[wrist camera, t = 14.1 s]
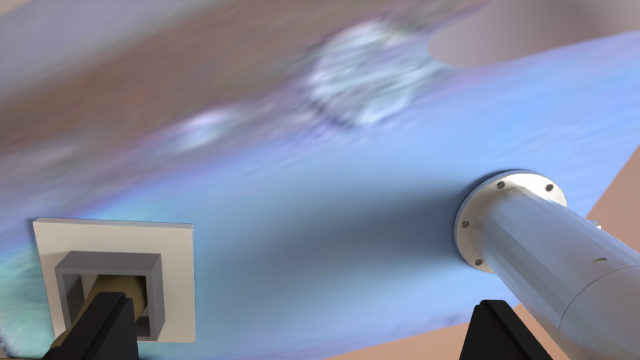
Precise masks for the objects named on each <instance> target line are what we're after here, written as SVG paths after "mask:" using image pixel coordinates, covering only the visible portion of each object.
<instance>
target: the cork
mask: <svg viewBox="0 0 640 360" xmlns="http://www.w3.org/2000/svg"><path fill="white" fill-rule="evenodd" d="M101 291H108V292H125V294H126V298H132V300H133V305H134V315H135V322H136V320H137V319H138V318H139V316H140V315H141V314H142V312H143V311H144V310H145V308H146V307H147V305H148V298H147V286H146V276H143V275H106V274H98V276H97V278H96V280H95V282H94V284H93V286H92V288H91V290H90V292H89V294H88V296H87V298H86V300H85V302H84V304H83V306H82V308H81V310H80V312H79V314H78V316H77V318H76V320H75V322H74V324H73V326H72V327H71V328H69V329H67V330H65V331H64V332H63V333H61V334H60V335H59V336H58V337H57V338H56V339H55V341H54V342H53V343H52V344H51V347H50V349H51V348H53V347H54V346H60V345H61V344H62V342H63V341H64V340H65V338H66V337H67V335H68V334H69V333H70V331H71V330H72V328H73V327H74V325H75V324H76V323H77V321H78V320H79V318H80V317H81V316H82V314H83V313H84V311H85V310H86V309H87V307H88V306H89V304H90V303H91V302H92V300H93V299H94V297H95V296H96V295H97V294H98V293H99V292H101ZM50 349H49V350H50Z"/></svg>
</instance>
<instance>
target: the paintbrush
mask: <svg viewBox="0 0 640 360" xmlns="http://www.w3.org/2000/svg"><path fill="white" fill-rule="evenodd" d="M0 360H34V359H12V358H0Z"/></svg>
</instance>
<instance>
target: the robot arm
mask: <svg viewBox="0 0 640 360" xmlns="http://www.w3.org/2000/svg"><path fill="white" fill-rule="evenodd" d="M454 239H455V243H456V246H457V248H458V250H459V252H460V253H461V255H462V256H463V257H464V259H465V260H466V261H467V262H468V263H469V264H470V265H472V266H473V267H474V268H476V269H478V270H481V271H483V272H487V273H492V274H497V276H498V277H499V278H500V279H501V280H502V281H503V283H504V284H505V285H506V286H507V287H508V288H509V289H510V291H511V292H512V293H513V294H514V295H515V296H516V298H517V299H518V300H519V301H520V302H521V303H522V305H523V306H524V307H525V308H526V309H527V310H528V311H529V313H530V314H531V315H532V316H533V317H534V318H535V319H536V321H537V322H538V323H539V324H540V325H541V326H542V328H543V329H544V330H545V331H546V332H547V333H548V334H549V336H550V337H551V338H552V339H553V340H554V341H555V343H556V344H557V345H558V346H559V347H560V348H561V350H562V351H563V352H564V353H565V354H566V355H567V357H568V358H569V359H570V360H640V253H638V252H637V251H635V250H633V249H632V248H630V247H629V246H627V245H626V244H624V243H622V242H621V241H619V240H618V239H616V238H615V237H613V236H611V235H610V234H608V233H606V232H605V231H603V230H602V229H600V224H599V222H598V221H595V220H586V219H584V218H583V217H581V216H580V215H578V214H577V213H575V212H573V211H572V210H570V209H569V208H568V205H567V201H566V197H565V195H564V193H563V191H562V190H561V188H560V187H559V186H558V185H557V184H556V183H555V182H554V181H552V180H551V179H549V178H548V177H546V176H544V175H542V174H540V173H537V172H533V171H529V170H514V171H507V172H504V173H501V174H497V175H495V176H493V177H491V178H489V179H487V180H486V181H484V182H483V183H481V184H480V185H479V186H477V187H476V188H475V189H474V190H473V191H472V192H471V193H470V194H469V195H468V196H467V198H466V199H465V200H464V202H463V203H462V205H461V207H460V209H459V211H458V213H457V216H456V219H455V223H454ZM41 360H139V355H138V345H137V335H136V325H135V315H134V305H133V300H132V298H126V294H125V292H108V291H101V292H99V293H98V294H97V295H96V296H95V297H94V299H93V300H92V302H91V303H90V304H89V306H88V307H87V309H86V310H85V311H84V313H83V314H82V316H81V317H80V318H79V320H78V321H77V323H76V324H75V325H74V327H73V328H72V330H71V331H70V333H69V334H68V335H67V337H66V338H65V340H64V341H63V342H62V344H61V345H60V346H54V347H53V348H51V349H50V350H49V351H48V352H47V353H46V354H45V355H44V357H43V358H42V359H41ZM459 360H553V359H552V358H551V356H550V355H549V354H548V353H547V351H546V350H545V349H544V348H543V347H542V345H541V344H540V343H539V342H538V340H537V339H536V338H535V337H534V336H533V334H532V333H531V332H530V331H529V329H528V328H527V327H526V326H525V324H524V323H523V322H522V321H521V319H520V318H519V317H518V316H517V315H516V313H515V312H514V311H513V310H512V308H511V307H510V306H509V305H508V303H506V302H505V301H503V300H482V301H481V302H480V304H479V305H476V306H475V308H474V311H473V314H472V317H471V321H470V324H469V328H468V331H467V334H466V338H465V341H464V345H463V348H462V352H461V355H460V358H459Z"/></svg>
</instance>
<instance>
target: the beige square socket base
mask: <svg viewBox="0 0 640 360" xmlns="http://www.w3.org/2000/svg"><path fill="white" fill-rule="evenodd" d="M33 227H34V232H35V237H36V242H37V247H38V252H39V257H40V262H41V267H42V272H43V277H44V283H45V288H46V293H47V298H48V303H49V308H50V313H51V318H52V323H53V328H54V333H55V338H57V337H58V336H59V335H60V334H61V333H63V332H64V331H65V330H67V329H69V328H71V327H72V326H73V324H74V322H75V320H76V318H77V316H78V314H79V312H80V310H81V308H82V306H83V304H84V302H85V300H86V298H87V296H88V294H89V292H90V290H91V288H92V286H93V284H94V282H95V280H96V278H97V276H98V274H106V275H143V276H146V286H147V298H148V305H147V307H146V308H145V310H144V311H143V312H142V314H141V315H140V316H139V318H138V319H137V320H136V322H135V325H136V335H137V342H176V343H194V342H195V339H196V311H195V276H194V242H193V224H182V223H158V222H134V221H110V220H86V219H62V218H37V219H36V220H35V221H33Z"/></svg>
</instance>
